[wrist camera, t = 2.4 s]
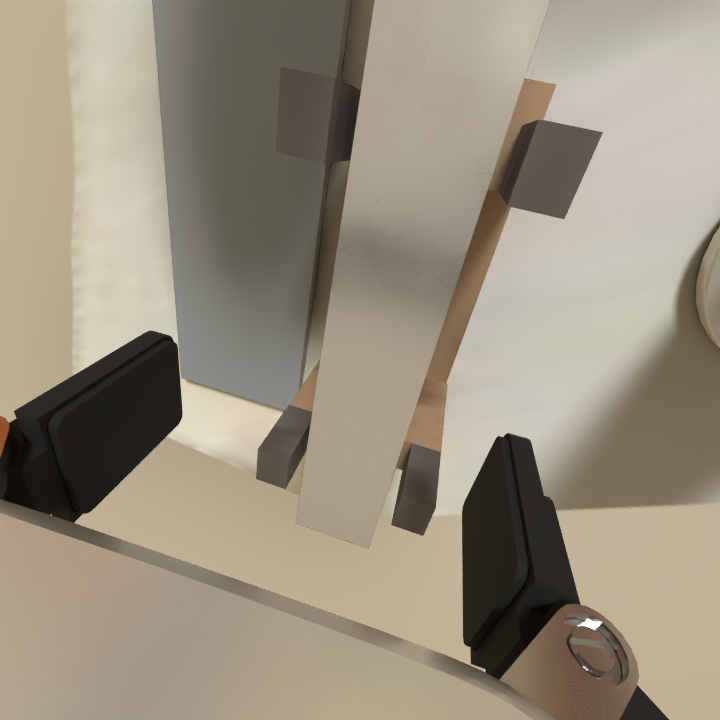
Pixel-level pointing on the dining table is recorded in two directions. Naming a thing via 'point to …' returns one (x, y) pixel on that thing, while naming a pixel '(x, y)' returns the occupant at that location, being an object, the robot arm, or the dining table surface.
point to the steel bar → (406, 234)
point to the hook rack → (506, 189)
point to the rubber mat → (242, 186)
